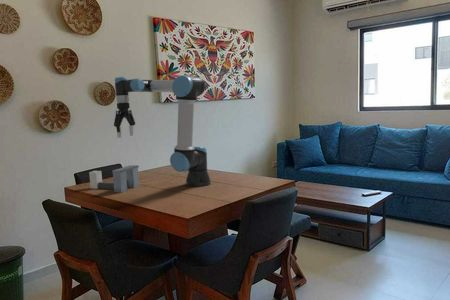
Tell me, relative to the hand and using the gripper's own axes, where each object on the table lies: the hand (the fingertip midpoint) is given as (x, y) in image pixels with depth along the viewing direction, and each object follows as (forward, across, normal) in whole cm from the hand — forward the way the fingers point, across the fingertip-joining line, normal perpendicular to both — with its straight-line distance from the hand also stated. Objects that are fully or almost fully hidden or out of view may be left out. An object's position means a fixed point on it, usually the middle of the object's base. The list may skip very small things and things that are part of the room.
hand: (126, 136), depth 236 cm
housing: (+30, +14, +7) cm, 34 cm away
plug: (+30, +14, -8) cm, 34 cm away
